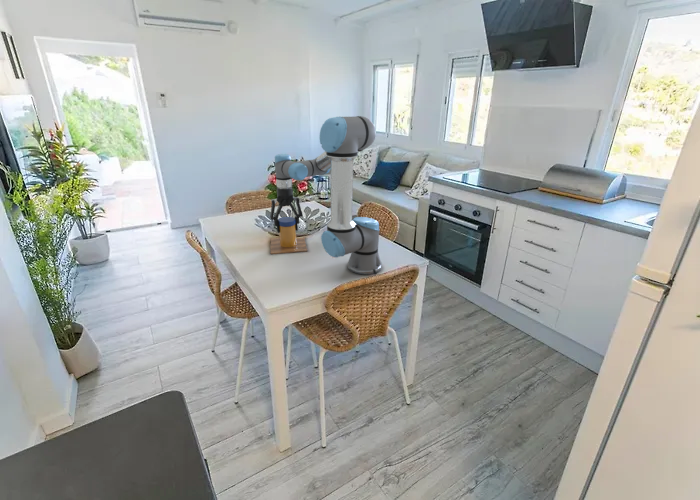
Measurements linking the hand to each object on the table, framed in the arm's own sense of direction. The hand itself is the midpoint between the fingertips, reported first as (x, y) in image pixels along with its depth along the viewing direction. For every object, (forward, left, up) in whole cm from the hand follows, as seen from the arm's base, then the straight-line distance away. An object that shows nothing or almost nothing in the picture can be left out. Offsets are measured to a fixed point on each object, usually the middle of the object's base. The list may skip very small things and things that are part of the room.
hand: (287, 230), depth 178 cm
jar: (0, 0, -7) cm, 7 cm away
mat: (0, 0, -8) cm, 8 cm away
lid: (0, 0, +6) cm, 6 cm away
